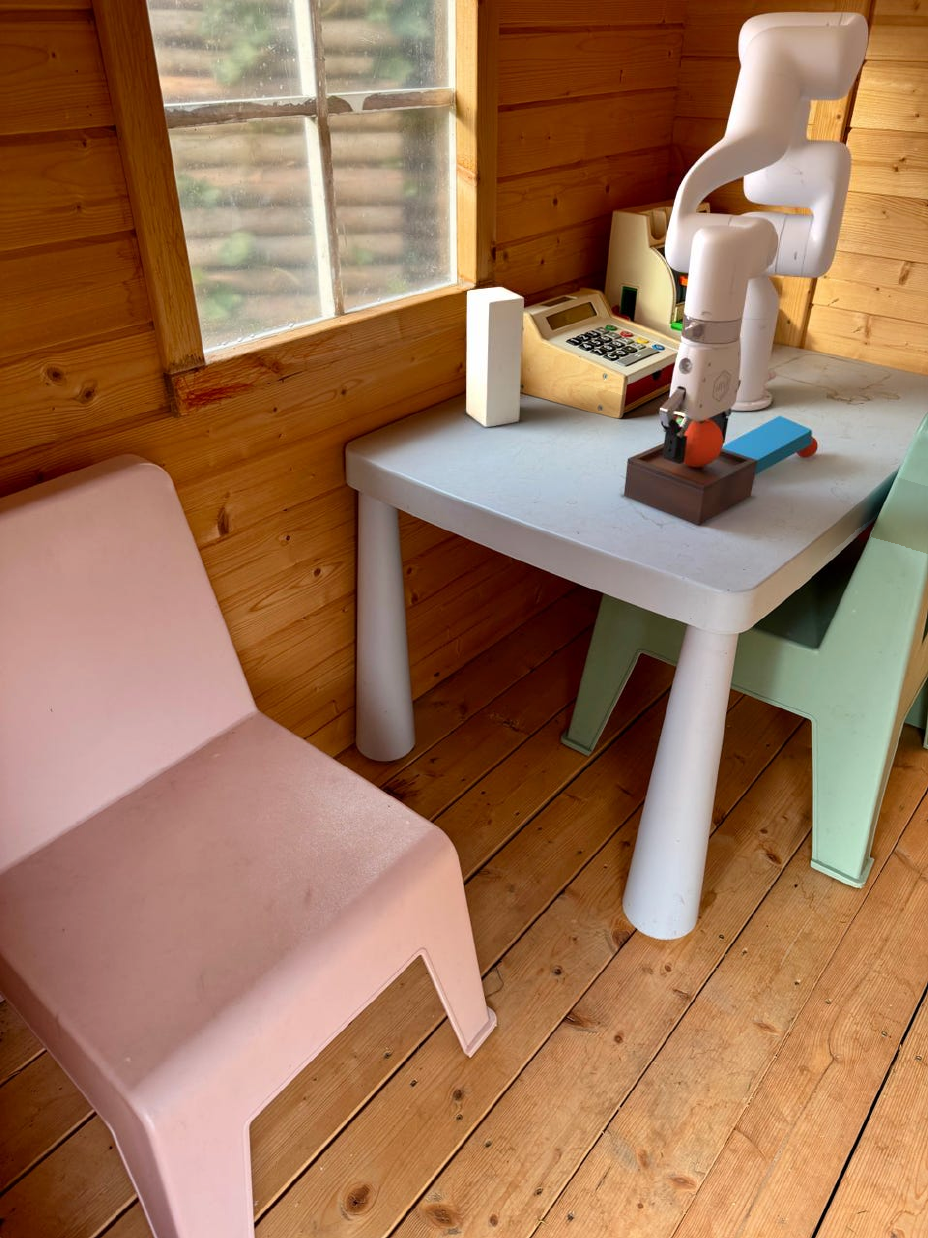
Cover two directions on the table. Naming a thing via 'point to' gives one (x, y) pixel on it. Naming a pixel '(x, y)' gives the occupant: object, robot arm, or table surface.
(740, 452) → the lever
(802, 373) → the table surface
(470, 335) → the tall white pillar block
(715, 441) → the clementine
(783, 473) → the table surface
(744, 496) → the tray
